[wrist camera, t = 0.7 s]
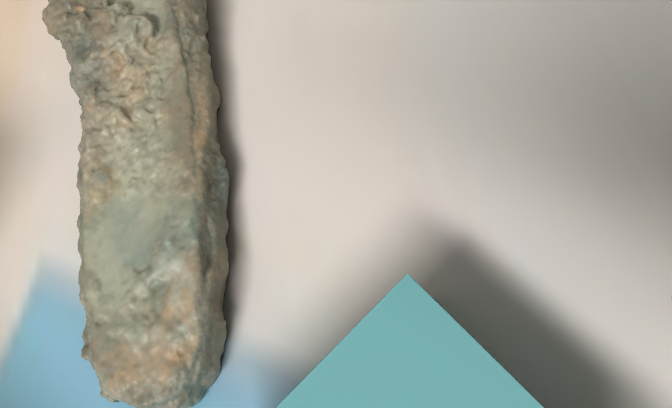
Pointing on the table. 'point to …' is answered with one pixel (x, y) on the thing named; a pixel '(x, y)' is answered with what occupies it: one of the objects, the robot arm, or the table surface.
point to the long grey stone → (148, 196)
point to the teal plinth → (409, 363)
